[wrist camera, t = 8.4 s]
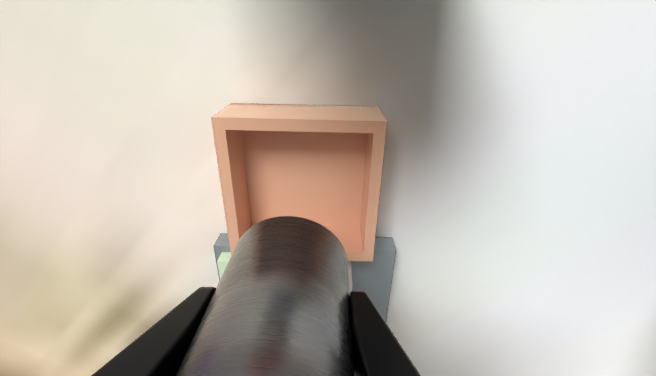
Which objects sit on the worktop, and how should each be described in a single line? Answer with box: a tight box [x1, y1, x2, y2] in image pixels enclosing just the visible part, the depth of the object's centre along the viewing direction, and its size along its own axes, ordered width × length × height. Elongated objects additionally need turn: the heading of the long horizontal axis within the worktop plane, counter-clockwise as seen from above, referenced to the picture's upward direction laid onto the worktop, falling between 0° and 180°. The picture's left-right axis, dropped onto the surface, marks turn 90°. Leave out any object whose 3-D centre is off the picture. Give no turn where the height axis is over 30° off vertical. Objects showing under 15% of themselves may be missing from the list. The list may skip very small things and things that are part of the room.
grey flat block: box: [214, 234, 396, 322], centre depth 19 cm, size 10×9×4 cm
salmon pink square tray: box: [211, 103, 387, 262], centre depth 15 cm, size 7×7×3 cm
